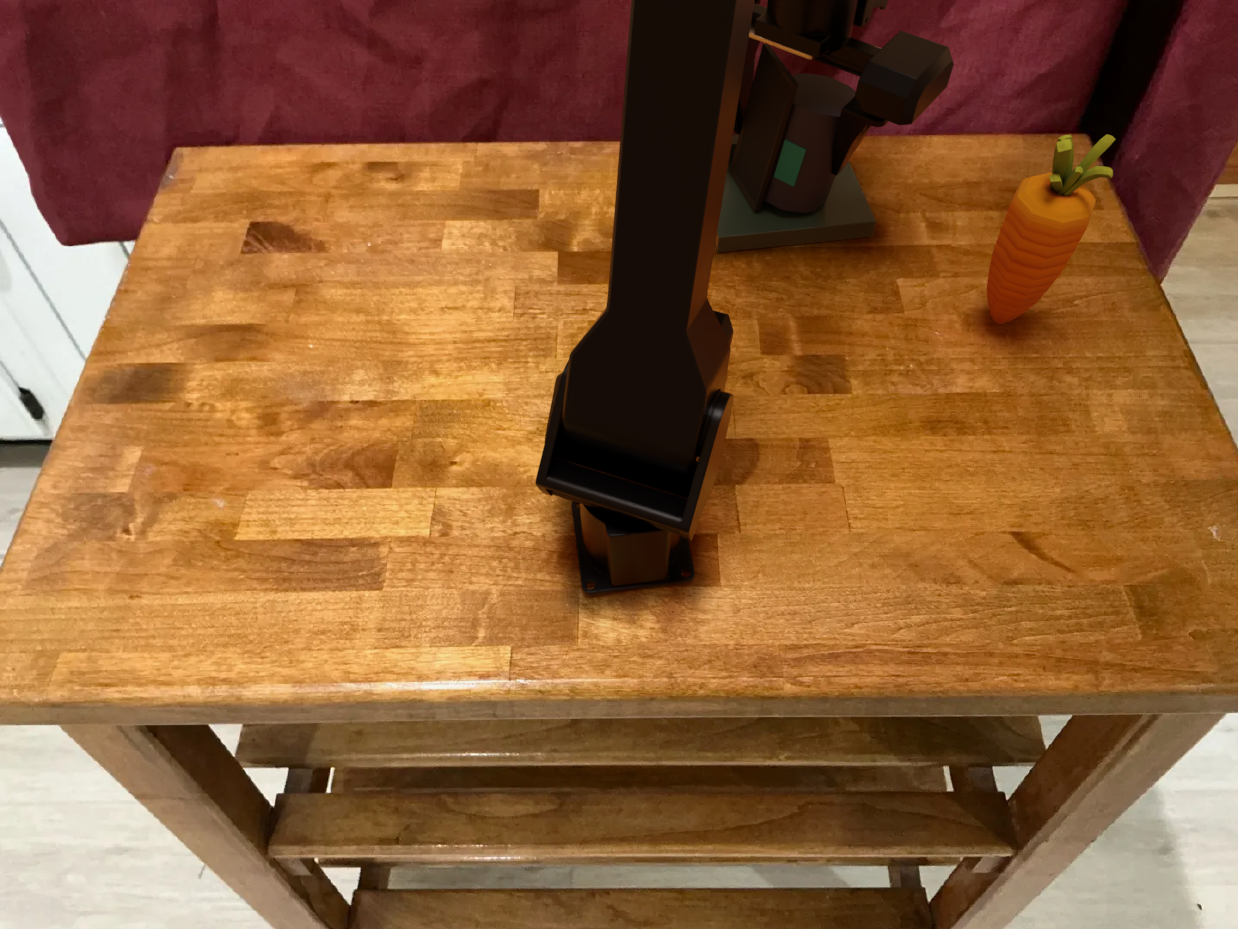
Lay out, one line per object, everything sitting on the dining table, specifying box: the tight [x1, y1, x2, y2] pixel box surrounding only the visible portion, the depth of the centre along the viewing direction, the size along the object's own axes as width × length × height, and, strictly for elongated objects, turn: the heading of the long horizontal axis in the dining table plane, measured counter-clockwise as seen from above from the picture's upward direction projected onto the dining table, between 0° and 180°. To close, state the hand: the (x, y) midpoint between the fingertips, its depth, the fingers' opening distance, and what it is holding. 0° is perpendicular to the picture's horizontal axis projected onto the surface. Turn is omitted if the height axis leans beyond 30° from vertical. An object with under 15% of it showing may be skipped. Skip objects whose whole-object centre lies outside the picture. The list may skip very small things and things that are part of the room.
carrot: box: [986, 134, 1116, 325], centre depth 57 cm, size 5×5×15 cm
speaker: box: [729, 43, 856, 213], centre depth 66 cm, size 8×6×10 cm
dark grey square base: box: [715, 134, 877, 253], centre depth 70 cm, size 10×12×3 cm
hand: (788, 151), depth 67 cm, fingers open, 8 cm apart
